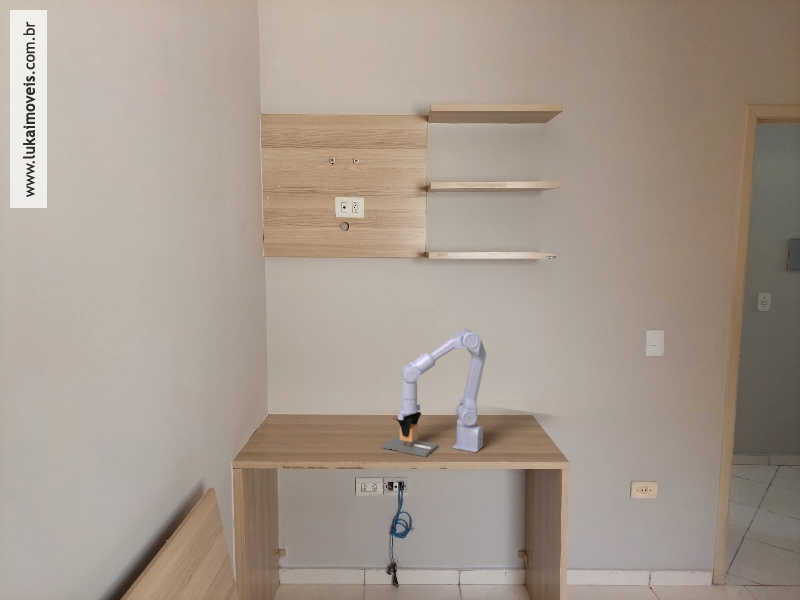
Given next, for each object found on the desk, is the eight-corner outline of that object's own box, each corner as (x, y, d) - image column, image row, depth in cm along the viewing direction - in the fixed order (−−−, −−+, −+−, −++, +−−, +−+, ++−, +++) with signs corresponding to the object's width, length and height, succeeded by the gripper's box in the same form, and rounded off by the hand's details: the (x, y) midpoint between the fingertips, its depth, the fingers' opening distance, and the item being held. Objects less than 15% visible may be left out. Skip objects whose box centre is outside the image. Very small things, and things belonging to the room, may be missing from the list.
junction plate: (438, 446, 193) (438, 436, 193) (425, 456, 183) (426, 445, 183) (395, 438, 201) (395, 428, 201) (381, 447, 192) (381, 437, 191)
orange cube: (417, 437, 192) (417, 424, 192) (411, 442, 188) (411, 428, 188) (405, 435, 195) (405, 422, 194) (399, 439, 190) (399, 426, 190)
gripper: (408, 391, 198) (408, 426, 199) (390, 401, 185) (390, 437, 187) (425, 394, 195) (424, 429, 196) (407, 403, 182) (407, 441, 183)
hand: (409, 433), depth 191 cm, fingers closed on orange cube, 5 cm apart
